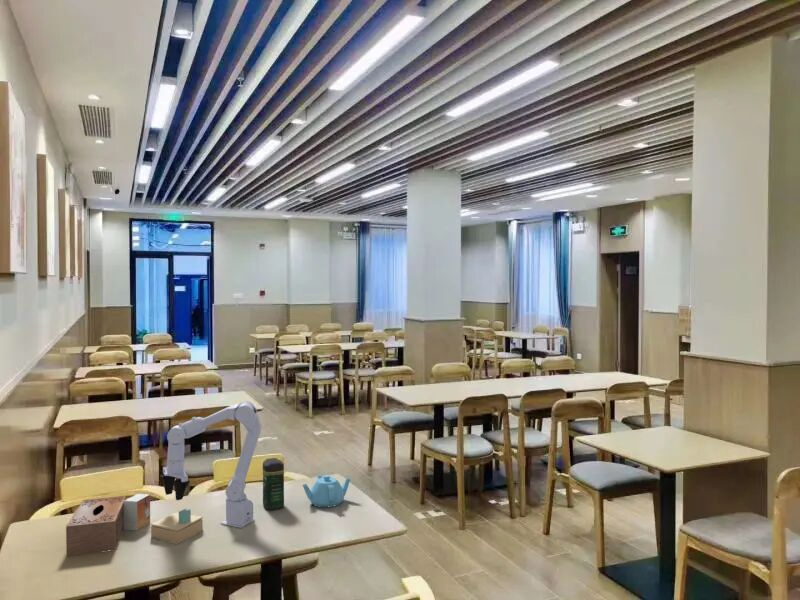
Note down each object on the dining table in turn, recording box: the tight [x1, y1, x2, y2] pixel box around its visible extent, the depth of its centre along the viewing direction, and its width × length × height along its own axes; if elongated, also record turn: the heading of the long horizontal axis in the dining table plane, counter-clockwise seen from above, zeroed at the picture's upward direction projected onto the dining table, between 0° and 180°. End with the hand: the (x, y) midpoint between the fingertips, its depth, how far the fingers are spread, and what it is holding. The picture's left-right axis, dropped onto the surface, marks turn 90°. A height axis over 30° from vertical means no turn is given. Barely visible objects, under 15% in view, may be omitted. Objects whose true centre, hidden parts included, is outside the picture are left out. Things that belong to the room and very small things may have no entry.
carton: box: [150, 518, 204, 545], centre depth 210 cm, size 12×12×4 cm
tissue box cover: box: [65, 495, 128, 557], centre depth 207 cm, size 26×14×10 cm, turn 17°
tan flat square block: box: [150, 508, 203, 531], centre depth 210 cm, size 12×12×5 cm
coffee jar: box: [262, 457, 285, 510], centre depth 237 cm, size 10×8×19 cm
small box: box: [123, 493, 151, 531], centre depth 217 cm, size 8×6×10 cm
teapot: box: [302, 474, 351, 508], centre depth 241 cm, size 15×15×11 cm
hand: (174, 496), depth 217 cm, fingers open, 7 cm apart
